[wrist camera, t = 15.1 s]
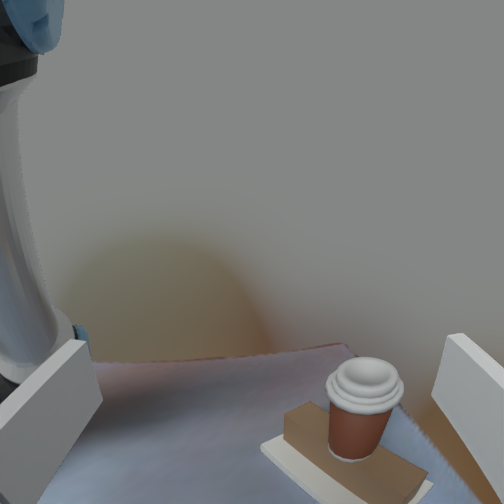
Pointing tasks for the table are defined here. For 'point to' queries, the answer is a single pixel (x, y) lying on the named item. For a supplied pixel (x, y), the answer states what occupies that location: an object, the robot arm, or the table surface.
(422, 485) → the stand
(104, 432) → the table surface
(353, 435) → the coffee cup
